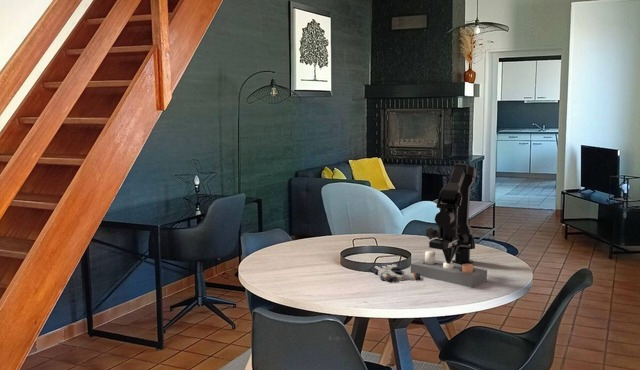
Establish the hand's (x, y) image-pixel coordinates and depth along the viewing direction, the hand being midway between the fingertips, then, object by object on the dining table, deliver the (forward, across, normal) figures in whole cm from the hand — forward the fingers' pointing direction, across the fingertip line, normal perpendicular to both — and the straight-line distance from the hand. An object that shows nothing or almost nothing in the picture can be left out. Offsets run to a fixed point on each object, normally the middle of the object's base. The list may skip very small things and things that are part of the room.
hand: (448, 263), depth 231 cm
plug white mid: (+5, 0, 0) cm, 5 cm away
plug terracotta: (+4, 0, +8) cm, 9 cm away
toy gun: (+6, +10, -17) cm, 21 cm away
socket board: (+5, 0, 0) cm, 5 cm away
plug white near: (+2, 0, -8) cm, 8 cm away
